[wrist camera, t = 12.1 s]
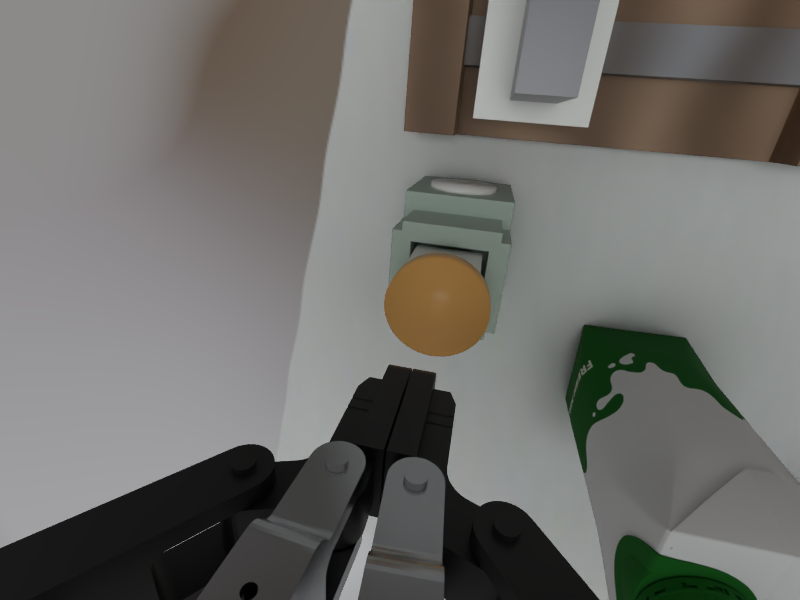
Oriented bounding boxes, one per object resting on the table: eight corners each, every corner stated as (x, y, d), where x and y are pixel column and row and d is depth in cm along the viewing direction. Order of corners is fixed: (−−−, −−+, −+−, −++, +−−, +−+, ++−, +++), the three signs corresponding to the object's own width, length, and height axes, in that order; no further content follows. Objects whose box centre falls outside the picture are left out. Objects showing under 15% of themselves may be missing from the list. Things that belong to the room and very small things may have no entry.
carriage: (620, -48, 20) (696, -150, 13) (579, 127, 24) (619, 129, 16) (498, -50, 21) (499, -146, 14) (474, 118, 25) (465, 117, 17)
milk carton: (574, 312, 31) (681, 573, 13) (706, 328, 29) (1033, 650, 12) (551, 405, 35) (611, 710, 17) (668, 424, 33) (872, 784, 15)
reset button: (498, 242, 21) (499, 267, 17) (483, 326, 23) (481, 364, 19) (405, 230, 21) (387, 252, 18) (399, 312, 23) (381, 346, 20)
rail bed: (907, -46, 20) (996, -82, 17) (809, 164, 24) (863, 171, 21) (430, -54, 24) (419, -84, 21) (415, 129, 28) (403, 130, 25)
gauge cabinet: (511, 180, 28) (518, 207, 19) (491, 290, 32) (489, 357, 23) (425, 171, 29) (394, 193, 20) (415, 279, 33) (384, 338, 24)
